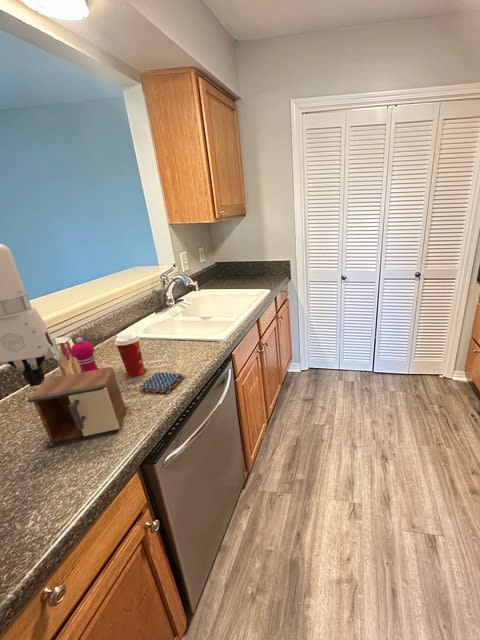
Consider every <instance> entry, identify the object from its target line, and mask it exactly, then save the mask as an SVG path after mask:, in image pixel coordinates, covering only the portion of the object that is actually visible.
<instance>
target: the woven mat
mask: <svg viewBox="0 0 480 640" xmlns="http://www.w3.org/2000/svg"><path fill="white" fill-rule="evenodd" d="M184 378H185V377H184V375H183V373H178V372H177V373H175V372H160V371H158V372H154V374H153V375H151V377H149V378H148V379H147V380H145V381H144V382H142V384H141V385H139V390H140V391H144V392H145V393H146V392H150V393H153V394H155V393H158V392H159V393H160V394H162V393H165V394H169V393H170V391H171V390H172V389H174V388H175V387H176V386H177V385H178V384H179V382H181V381H182V380H183V379H184Z"/></svg>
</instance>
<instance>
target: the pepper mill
mask: <svg viewBox="0 0 480 640" xmlns="http://www.w3.org/2000/svg"><path fill="white" fill-rule="evenodd" d="M83 339H84V338H83V337H76V338H75V342H76V343H74V345H73V346H72V347H71V354H72V356H73V357H75V358H76V361H77V364H79V368H80V370H81V372H87V371H93V370H98V369H100V368H99V366H97V363H96V361H95V360H96V357H95V356H96V355H95V347H94V345H93V343H92V342H89V341H87V340H83Z"/></svg>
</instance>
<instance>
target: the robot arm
mask: <svg viewBox="0 0 480 640" xmlns="http://www.w3.org/2000/svg"><path fill="white" fill-rule="evenodd" d="M20 275H21V274H20V273H19V270H18V267H17V264H16V262H15V259H14V256H13V253H12V251H11V249H10V248H9V247H8V246H7V245H5V244H3V243H0V365H2V366H5V365H6V366H8V365H9V366H11V367H14V368H15V369H17V371H19V372H22V374H23V377H24V379H25V382H26V383H28V385H29V387H35V386H36V387H38V386H41V385H42V382H44V381H45V373H44V370H43V368H42V363H43V362H44V361H46V360H49V359H53V357H54V356H55V355H56V351H55V350H54V349H53V341H52V340H53V338H52V336H51V334H50V331H49V329H48V327H47V325H46V323H45V321H44V320H43V318H42V317H41V315H40V313H39V312H38V310H37V308H35V307H32V304H31V302H30V300H29V297H28V294H27V292H26V289H25V286H24V284H23V280H22V278H21V276H20Z"/></svg>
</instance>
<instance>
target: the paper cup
mask: <svg viewBox="0 0 480 640" xmlns="http://www.w3.org/2000/svg"><path fill="white" fill-rule="evenodd" d="M114 339H115V342H114V344H115V346H116V348H117V350H118V353H119V355H120V359H121V361H122V364H123V366H124V369H125V371H126V374H127V376H128V377H138V376H140V375H142V374H144V373H145V366H144V359H143V355H142V350H141V345H140V337H139V336H138V334H137V333H125V334H122V335H119V336H117V337H116V338H114Z"/></svg>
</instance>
